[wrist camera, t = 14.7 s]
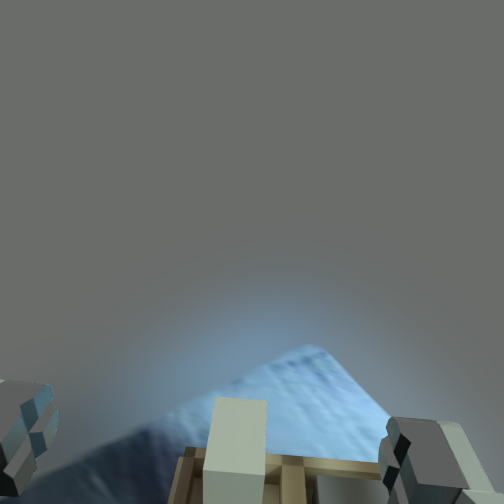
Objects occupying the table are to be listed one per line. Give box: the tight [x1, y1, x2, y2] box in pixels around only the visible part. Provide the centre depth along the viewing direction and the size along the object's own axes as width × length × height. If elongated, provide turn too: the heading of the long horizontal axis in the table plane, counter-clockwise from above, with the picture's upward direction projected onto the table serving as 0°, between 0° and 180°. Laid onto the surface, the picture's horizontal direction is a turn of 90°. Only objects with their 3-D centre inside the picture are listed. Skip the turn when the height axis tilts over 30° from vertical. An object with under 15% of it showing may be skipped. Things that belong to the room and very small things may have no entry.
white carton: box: [203, 397, 267, 504], centre depth 30 cm, size 4×6×12 cm
